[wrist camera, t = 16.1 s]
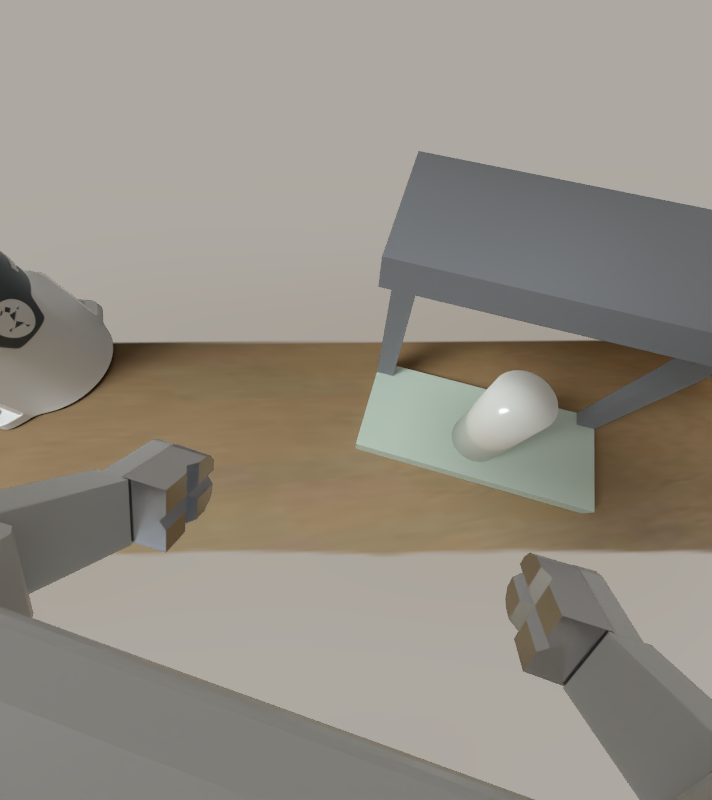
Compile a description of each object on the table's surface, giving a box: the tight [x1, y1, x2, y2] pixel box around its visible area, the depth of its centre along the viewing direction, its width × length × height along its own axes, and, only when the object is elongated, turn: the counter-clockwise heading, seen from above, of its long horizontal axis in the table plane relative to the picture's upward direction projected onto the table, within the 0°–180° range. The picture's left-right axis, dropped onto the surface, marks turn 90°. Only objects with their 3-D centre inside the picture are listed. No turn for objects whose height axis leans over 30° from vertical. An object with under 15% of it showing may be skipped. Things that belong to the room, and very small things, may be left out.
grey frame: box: [356, 151, 712, 514], centre depth 27 cm, size 26×11×26 cm, turn 74°
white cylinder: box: [452, 370, 558, 462], centre depth 32 cm, size 6×6×11 cm
